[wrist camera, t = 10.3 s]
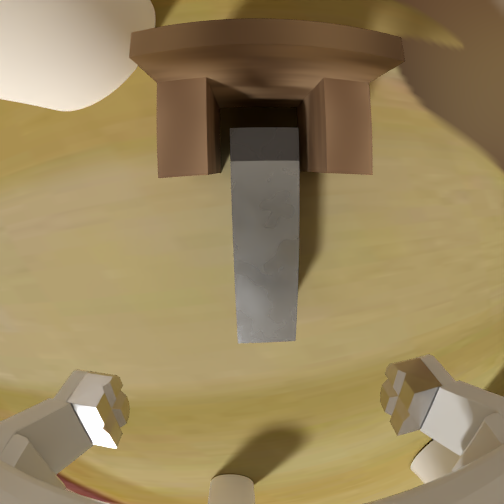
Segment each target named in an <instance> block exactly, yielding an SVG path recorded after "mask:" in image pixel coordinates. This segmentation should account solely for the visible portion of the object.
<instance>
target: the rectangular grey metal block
mask: <svg viewBox="0 0 504 504" xmlns="http://www.w3.org/2000/svg"><path fill="white" fill-rule="evenodd" d="M230 159H231V193H232V222H233V248H234V272H235V294H236V314H237V333H238V343H261V342H283V341H295V340H296V321H297V298H298V269H299V128H288V127H252V128H230Z"/></svg>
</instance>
